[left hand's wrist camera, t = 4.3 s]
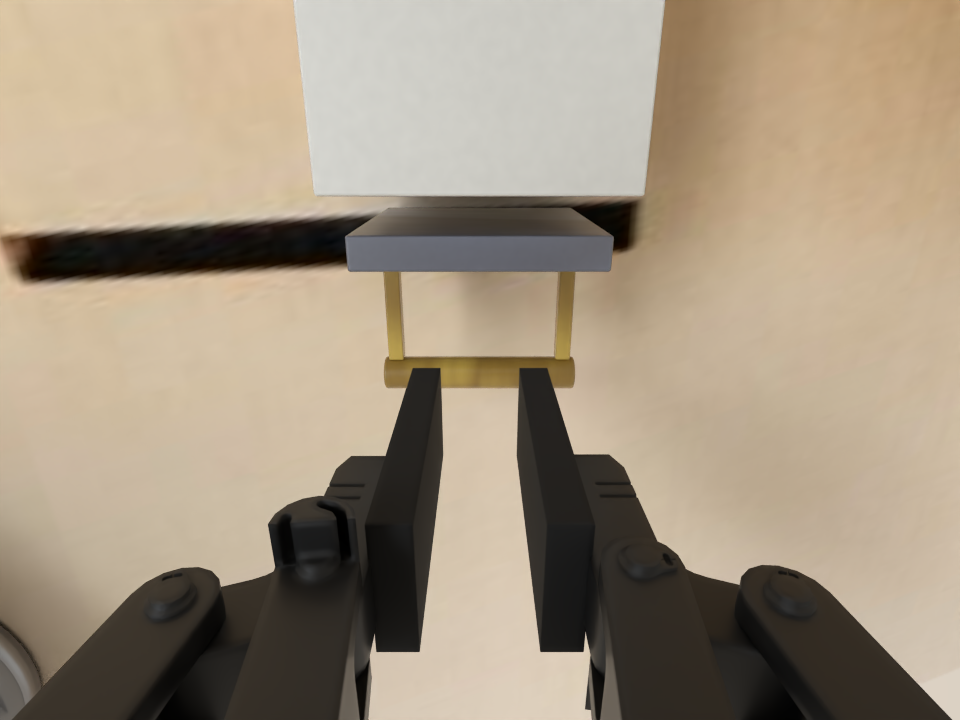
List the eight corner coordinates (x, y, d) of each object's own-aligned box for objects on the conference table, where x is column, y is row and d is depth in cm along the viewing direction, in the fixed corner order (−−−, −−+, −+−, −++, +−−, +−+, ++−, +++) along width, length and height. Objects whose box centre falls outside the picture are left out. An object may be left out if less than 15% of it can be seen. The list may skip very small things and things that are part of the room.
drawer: (563, 342, 28) (597, 422, 20) (395, 342, 28) (361, 423, 20) (604, -341, 19) (699, -716, 11) (354, -341, 19) (258, -715, 11)
